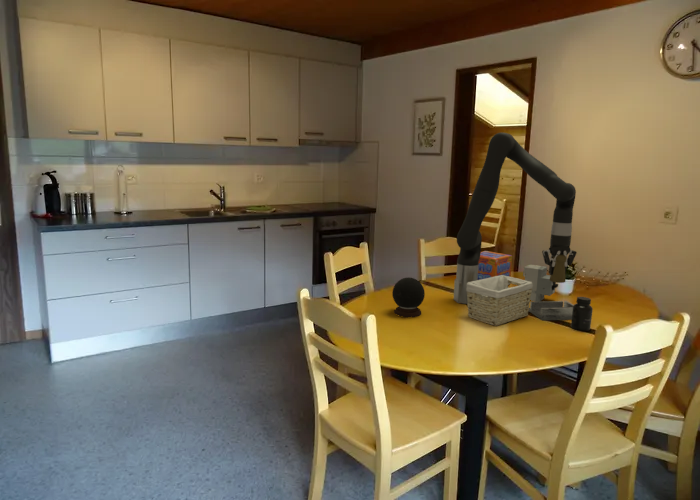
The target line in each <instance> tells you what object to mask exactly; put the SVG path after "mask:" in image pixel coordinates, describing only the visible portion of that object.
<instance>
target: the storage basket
mask: <svg viewBox="0 0 700 500" xmlns="http://www.w3.org/2000/svg"><path fill="white" fill-rule="evenodd" d="M508 283H510V285H511V284H512V285H515V286H512V287H509V285H508ZM532 287H533V285H532V282H530V281H525V279H521V278H517V277H513V276H511V277H509V276H504V275H500V276H495V277H490V278H486V279H482V280H477V281H472V282H468V283H467V288H466V291H467V297H468V298H467V302H468V304H467V310H468V311H467V315H468V317H469V318H470V319H472V320H473V319H474V320H476V321H480V322H482V323H485V324H488V325H491V326H496V327H497V326H501V325H503V324H506V323H509V322H512V321H516V320H518V319H521V318H524V317H528V315H529V308H530V302H531V301H530V297H531V293H532Z"/></svg>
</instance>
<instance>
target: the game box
mask: <svg viewBox="0 0 700 500" xmlns="http://www.w3.org/2000/svg"><path fill="white" fill-rule="evenodd" d="M512 263H513V255H511V254H505V253H500V252H494V251H490V250H489V251H488V250H484V251H481V254H480V259H479V264H478V280H482V279H486V278H490V277H495V276H500V275H504V276H509V277H512V276H511V275H512ZM508 286H511V283H508Z"/></svg>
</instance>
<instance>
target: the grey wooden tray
mask: <svg viewBox="0 0 700 500" xmlns="http://www.w3.org/2000/svg"><path fill="white" fill-rule="evenodd" d="M574 305H575V304H573V303H571V302H570V301H568V300H564V301H562V300H555V301H554V300H552V301H546V300H545V301H544V300H543V301H542V300H541V301H537V302H536V301H530V303H529V310H528V313H531V314H532V315H534V316H535V317H537V318H538V319H540V320H541V321H570V320H572V312H573V306H574Z"/></svg>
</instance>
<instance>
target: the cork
mask: <svg viewBox="0 0 700 500" xmlns="http://www.w3.org/2000/svg"><path fill="white" fill-rule="evenodd" d="M554 258H555V257H553V259H554ZM567 259H568V257H567V258H566V256H565V255H558V256H557V257H556V261H555V266H554V271H553V275H551V276H550V281H552V282H556V284H558V283H559V284H560V283H561V284H562V283H563V284H564V283H566V282H567V281H566V274H565V262H566V260H567Z"/></svg>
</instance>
